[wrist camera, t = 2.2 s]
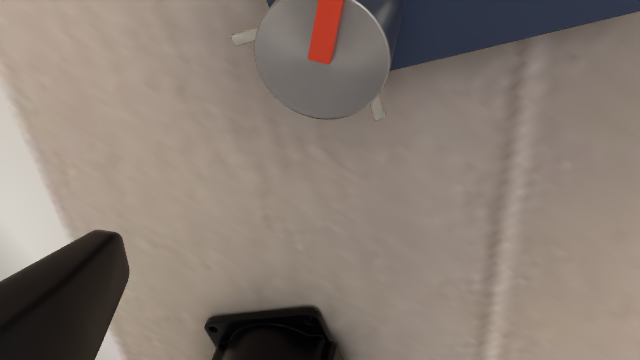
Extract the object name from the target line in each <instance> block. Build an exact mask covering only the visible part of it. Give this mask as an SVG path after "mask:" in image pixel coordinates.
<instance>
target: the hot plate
mask: <svg viewBox="0 0 640 360" xmlns="http://www.w3.org/2000/svg"><path fill="white" fill-rule="evenodd" d="M275 1H276V0H267V3H268V5H269V8H270V7H271V5H272V4H273V3H274V2H275ZM638 11H640V0H403V15H402V20H401V25H400V29H399V33H398V37H397V42H396V46H395V50H394V54H393V58H392V62H391V67H390V71H391V70H396V69H400V68H404V67H408V66H412V65H417V64H421V63H425V62H429V61H433V60H437V59H442V58H446V57H450V56H454V55H458V54H462V53H467V52H471V51H475V50H479V49H483V48H488V47H492V46H496V45H500V44H504V43H508V42H513V41H517V40H521V39H525V38H529V37H534V36H538V35H542V34H546V33H550V32H554V31H559V30H563V29H567V28H571V27H575V26H579V25H584V24H588V23H592V22H596V21H600V20H605V19H609V18H613V17H617V16H621V15H625V14H630V13H634V12H638ZM257 29H258V27H256V28H253V29H249V30H246V31H242V32H239V33H235V34H232V35H231V38H232V40H233V42H234V45H235V46H238V45H242V44H245V43H249V42H252V41H255V36H256V32H257ZM370 106H371V109H372V112H373V115H374V118H375V120H381V119H385V118H386V115H385V111H384V108H383V105H382V102H381V99H380V95H378V96H377V98H376V99H375V100H374V101H373V102H372V103H371V104H370Z"/></svg>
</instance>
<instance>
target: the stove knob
mask: <svg viewBox="0 0 640 360" xmlns="http://www.w3.org/2000/svg"><path fill="white" fill-rule="evenodd" d="M402 15H403V0H276V1H275V2H274V3H273V4H272V5H271V7H270V8H269V9H268V10H267V12H266V13H265V15H264V16H263V18H262V20H261V22H260V23H259V26H258V29H257V32H256V36H255V44H254V53H255V60H256V65H257V68H258V71H259V74H260V76H261V78H262V80H263V82H264V84H265V85H266V87H267V88H268V90H269V91H270V92H271V93H272V94H273V96H274V97H275V98H277V99H278V100H279V101H280V102H281V103H282V104H284V105H285V106H286V107H288V108H290V109H291V110H293V111H295V112H297V113H299V114H302V115H305V116H308V117H312V118H317V119H338V118H343V117H347V116H350V115H353V114H355V113H357V112H359V111H361V110H362V109H364V108H366V107H367V106H368V105H369V104H371V103H372V102H373V101H374V100H375V99H376V98H377V96H378V95H379V94H380V92H381V91H382V89H383V87H384V85H385V83H386V81H387V78H388V75H389V71H390V67H391V62H392V58H393V54H394V50H395V46H396V42H397V37H398V33H399V29H400V25H401V20H402Z"/></svg>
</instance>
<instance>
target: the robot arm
mask: <svg viewBox="0 0 640 360" xmlns="http://www.w3.org/2000/svg"><path fill="white" fill-rule="evenodd" d="M128 278H129V265H128V260H127V256H126V252H125V247H124V243H123V239H122V237H121V235H120V234H118V233H116V232H111V231H104V230H94V231H92V232H90V233H88V234H86V235H84V236H83V237H81V238H79V239H77V240H75V241H73V242H72V243H70V244H68V245H66V246H64V247H62V248H61V249H59V250H57V251H55V252H53V253H52V254H50V255H48V256H46V257H45V258H43V259H41V260H39V261H37V262H35V263H33V264H31V265H30V266H28V267H26V268H24V269H22V270H21V271H19V272H17V273H15V274H13V275H11V276H10V277H8V278H6V279H4V280H2V281H1V282H0V360H95V358H96V355H97V353H98V351H99V348H100V346H101V344H102V342H103V339H104V337H105V334H106V332H107V330H108V327H109V325H110V323H111V320H112V318H113V315H114V313H115V311H116V308H117V306H118V303H119V301H120V299H121V296H122V294H123V291H124V289H125V287H126V284H127V281H128ZM309 317H310V318H309ZM205 330H206V332H207V333H208V335H209V337H210V338H211V340H212V341H213V343H214V345H215V346H216V350H215V353H214V355H213V357H212V360H345V359H344V357H343V355H342V353H341V351H340V349H339V347H338V345H337V344H336V343H335V342H334V341H333V339H332V337H331V335H330V333H329V331H328V329H327V327H326V324H325V322H324V320H323V318H322V316H321V314H320V313H319V311H317V310H316V309H313V308H301V309H291V310H280V311H270V312H260V313H250V314H239V315H229V316H219V317H211V318H209V319H208V320H207V322H206V324H205Z"/></svg>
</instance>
